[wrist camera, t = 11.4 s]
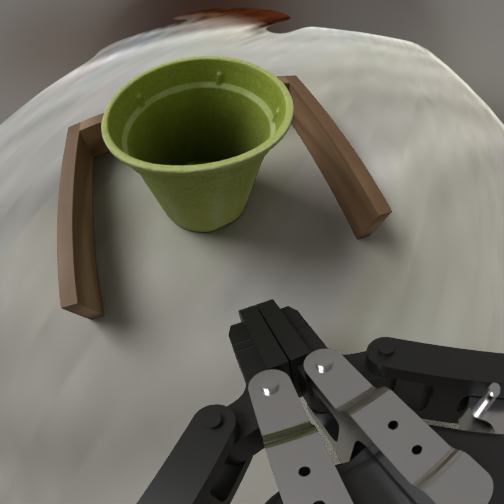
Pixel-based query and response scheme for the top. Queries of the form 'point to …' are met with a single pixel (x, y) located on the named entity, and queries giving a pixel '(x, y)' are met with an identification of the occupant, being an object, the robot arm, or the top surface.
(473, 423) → the robot arm
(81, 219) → the wooden u bracket
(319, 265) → the top surface
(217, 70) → the plant pot
